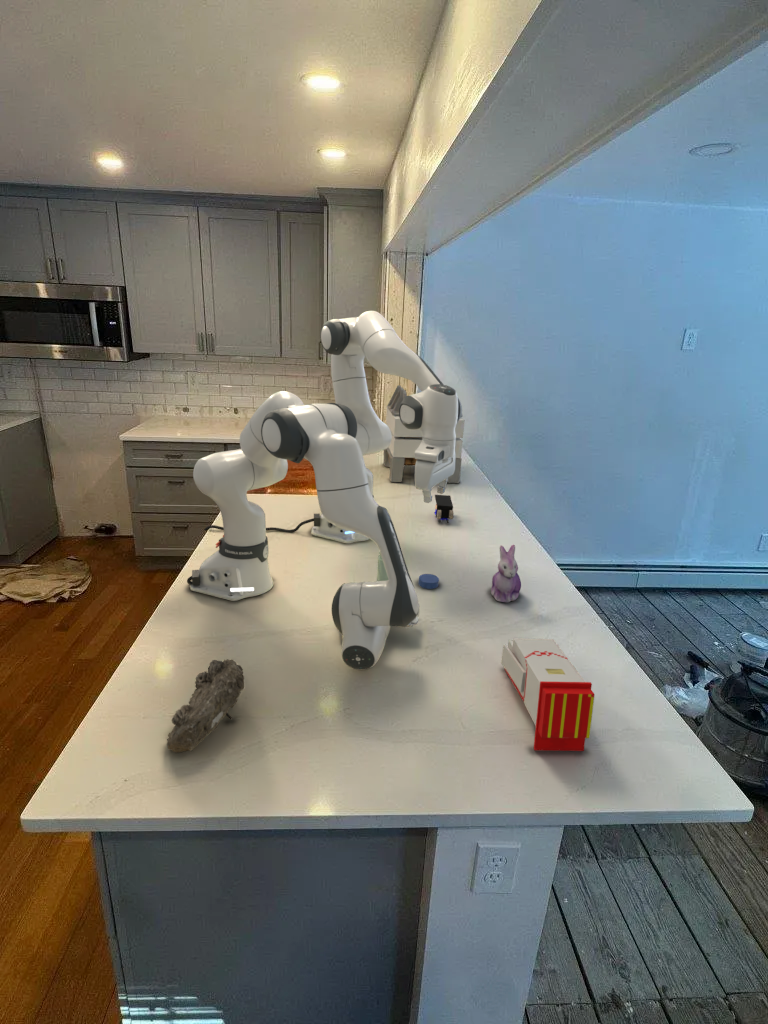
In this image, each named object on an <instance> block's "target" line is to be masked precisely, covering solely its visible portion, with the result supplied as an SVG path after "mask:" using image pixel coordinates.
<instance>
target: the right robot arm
mask: <svg viewBox="0 0 768 1024" xmlns="http://www.w3.org/2000/svg"><path fill="white" fill-rule="evenodd" d="M319 336H320V344H321V347H322V348H323V350H324V351H325V352H326V353H327V354H328V355H330V373H331V382H332V384H331V385H332V389H333V395H334V403H337V404H342V405H345V406H347V407H348V408H350V409H351V410H352V412H353V413H354V415H355V418H356V421H357V435H356V438H355V439H356V440H357V442H358V443H359V446H360V449H361V452H362V455H363V457H364V456H370V455H374V454H378V453H381V452H384V450H385V449H387V448H388V447H389V445H390V443H391V439H392V435H391V431H390V429H389V427H388V426H387V423H386V422H384V421H382V420H381V418H380V417H379V416H378V414H377V413H376V411H375V410H374V408H373V405H372V402H371V400H370V399H371V398H370V394H369V389H368V383H367V378H366V377H367V376H366V371H365V370H366V369H365V365H364V361H365V358H366V360H367V362H368V363H369V365H370V366H371V367H372V368H373V369H374V370H376V372H379V373H382V374H386V375H391V376H394V377H395V376H396V377H399V378H403V379H406V380H408V381H411V382H412V383H414V384H415V385H416V386H417V388H418V389H419V390H420V392H416V393H413V394H409V395H407V396H406V397H405V398H404V399H403V400H402V402H401V404H400V408H399V417H400V420H401V422H402V424H403V425H404V426H405V427H406V428H407V429H411V430H422V431H423V435H422V442H421V443H420V445H419V447H418V448H417V449H416V451H415V454H414V458H415V459H417V461H416V464H415V466H414V487H415V488H416V489H417V490H421V491H422V492H421V493H422V495H423V502H424V503H426V504H430V503H431V502H432V501H433V495H432V490H433V488H434V487H436V486H437V485H438V486H437V491H436V493H437V494H438V495H444V494H445V493H446V487H447V483H448V482H447V481H448V477H450V476H451V475H453V474H454V471H455V442H456V434H455V427H456V424H457V423H458V421H459V419H460V417H461V414H462V415H463V405H462V403H461V400H460V399H459V397H458V393H457V390H456V389H455V388H454V387H452V386H450V385H447V384H444V383H443V382H442V381H441V379H440V378H439V377H438V376H437V374H436V373H435V372H434V371H433V370H432V368H431V367H430V366H429V365H428V364H427V362H426V361H425V360H424V359H423V358H422V357H421V356H420V355H419V354H417V353H416V352H414V351H413V350H412V349H411V348H409V347H408V345H407V344H405V342H404V341H403V340H402V339H401V337H399V334H397V332H396V330H395V329H394V327H393V326H392V325H391V323H390V322H389V321H388V320H387V318H386V317H384V315H383V314H381V313H380V312H378V311H377V310H368V311H367V310H366V311H364V312H362V313H361V314H359V316H353V317H345V318H344V317H343V318H333V319H329V320H327V321H325V322H324V323H323V324H322V327H321V329H320V335H319ZM461 418H462V417H461ZM366 471H367V477H368V483H369V488H370V492H371V494H372V496H373V498H374V499H375V496H374V474H373V472H372V471H371V469H369V468H368V467H366ZM312 522H313V526H312V528H311V530H310V533H311V536H315V537H319V538H323V539H326V540H330V541H336V542H339V543H343V544H352V543H357V542H365V541H368V540H371V539H370V538H368V537H366V536H364V535H361V534H358V533H355V532H351V531H348V530H344V529H341V528H339V527H337V526H335V525H333V524H332V523H330V522H329V521H328V520H327V519H326V518H325V517H324V516H323V514H322V513H321V514H320V513H313V518H310V519H306V520H304V521H301V522H300V523H298V525H297V526H296V527H295V528H293V529H292V528H291V529H284V528H281V527H272V526H271V527H266V532H267V531H276V532H282V533H295V532H297V531H298V530H299V529H300V528H301V527H302V526H304V525H306V524H309V523H312ZM210 529H216V530H220V531H224V528H223V526H220V525H214V524H211V525H208V526H206V527H205V528H204V529H203V531H209V530H210Z"/></svg>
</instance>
